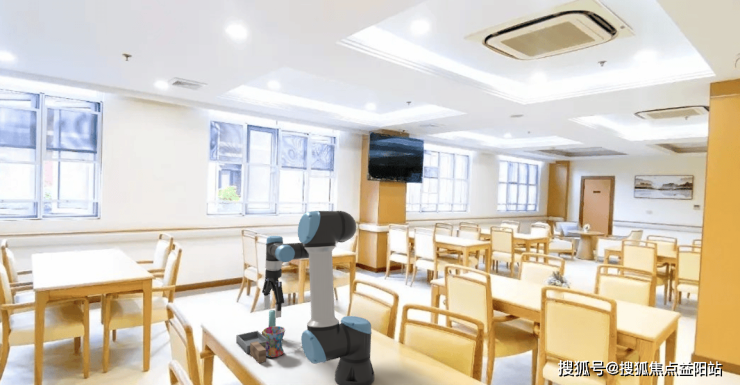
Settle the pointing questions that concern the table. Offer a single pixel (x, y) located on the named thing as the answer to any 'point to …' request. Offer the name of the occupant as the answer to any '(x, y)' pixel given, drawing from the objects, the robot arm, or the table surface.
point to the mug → (274, 341)
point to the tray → (250, 340)
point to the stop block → (258, 352)
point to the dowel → (272, 318)
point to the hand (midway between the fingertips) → (272, 313)
